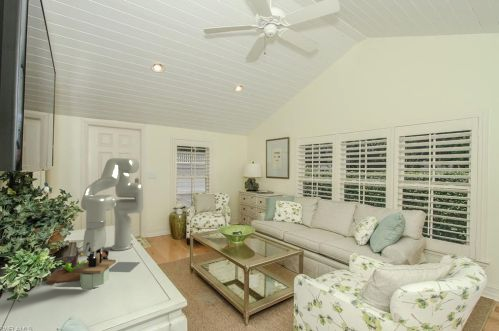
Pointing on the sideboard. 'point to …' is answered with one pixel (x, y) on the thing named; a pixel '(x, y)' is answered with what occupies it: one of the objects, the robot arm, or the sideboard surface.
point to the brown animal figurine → (103, 255)
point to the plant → (66, 272)
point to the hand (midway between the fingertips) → (95, 264)
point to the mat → (123, 266)
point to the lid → (96, 270)
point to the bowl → (93, 279)
